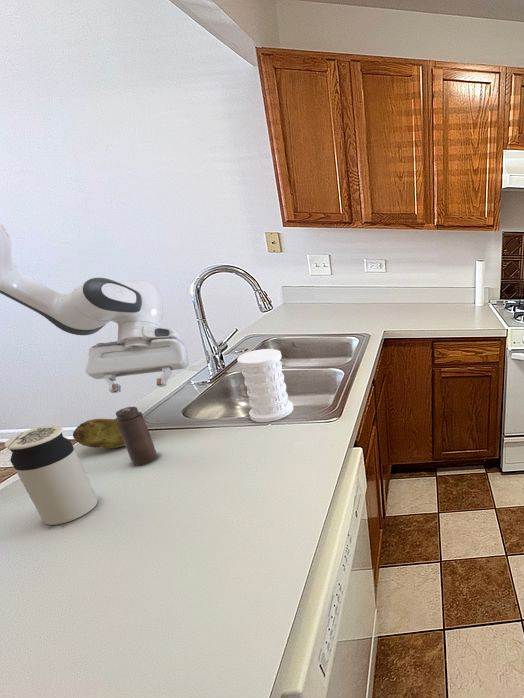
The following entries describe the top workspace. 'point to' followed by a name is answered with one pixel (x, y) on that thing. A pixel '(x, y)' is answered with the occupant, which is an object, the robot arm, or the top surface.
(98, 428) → the green pickle
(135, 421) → the pepper mill
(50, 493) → the travel mug
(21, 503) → the top surface
